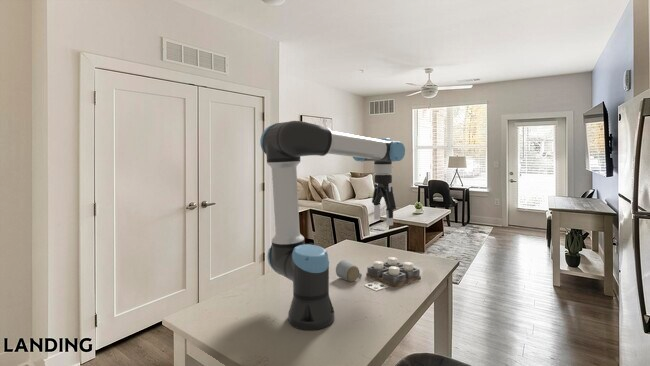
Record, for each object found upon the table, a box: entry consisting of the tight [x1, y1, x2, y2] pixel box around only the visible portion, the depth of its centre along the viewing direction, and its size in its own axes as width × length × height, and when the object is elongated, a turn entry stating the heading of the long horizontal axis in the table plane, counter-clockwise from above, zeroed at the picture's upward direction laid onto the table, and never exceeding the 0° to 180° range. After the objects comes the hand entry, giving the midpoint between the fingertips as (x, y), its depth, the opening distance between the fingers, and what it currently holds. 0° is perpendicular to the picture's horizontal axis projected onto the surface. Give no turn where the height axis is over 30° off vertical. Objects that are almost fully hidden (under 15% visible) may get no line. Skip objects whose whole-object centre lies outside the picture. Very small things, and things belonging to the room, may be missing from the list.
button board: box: [366, 261, 422, 289], centre depth 145 cm, size 16×17×4 cm
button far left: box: [386, 256, 398, 266], centre depth 151 cm, size 4×4×3 cm
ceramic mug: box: [335, 259, 362, 283], centre depth 144 cm, size 11×8×8 cm
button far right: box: [402, 261, 414, 272], centre depth 144 cm, size 4×4×3 cm
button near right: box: [389, 266, 400, 277], centre depth 139 cm, size 4×4×3 cm
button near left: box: [372, 260, 384, 271], centre depth 146 cm, size 4×4×3 cm
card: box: [363, 280, 389, 292], centre depth 136 cm, size 7×7×1 cm
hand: (383, 222), depth 146 cm, fingers open, 13 cm apart
